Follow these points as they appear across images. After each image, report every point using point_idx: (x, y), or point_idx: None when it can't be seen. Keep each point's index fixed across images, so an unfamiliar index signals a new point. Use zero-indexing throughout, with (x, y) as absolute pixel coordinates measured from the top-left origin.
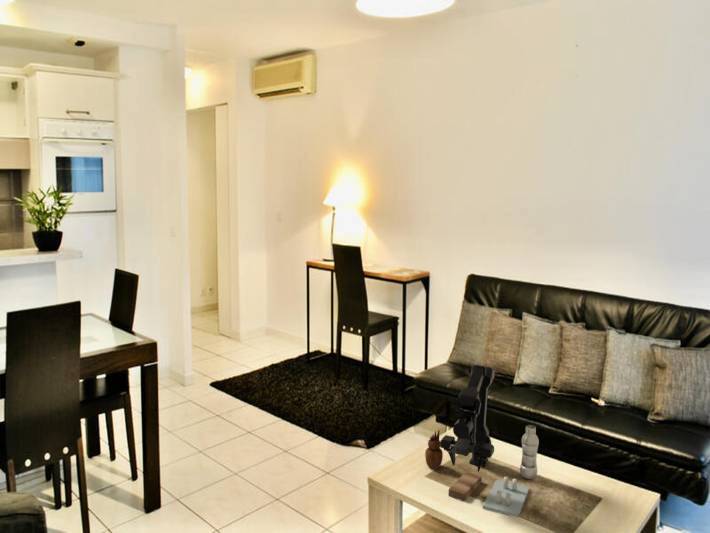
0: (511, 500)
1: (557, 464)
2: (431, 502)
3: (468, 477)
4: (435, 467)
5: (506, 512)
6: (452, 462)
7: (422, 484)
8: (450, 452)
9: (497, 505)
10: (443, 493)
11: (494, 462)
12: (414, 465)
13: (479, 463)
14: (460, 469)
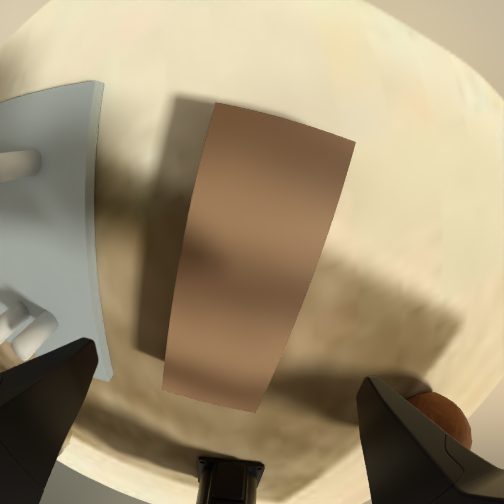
0: (2, 214)
1: None
2: (414, 48)
3: (231, 359)
4: (412, 399)
5: (10, 100)
6: (398, 397)
7: (479, 236)
8: (494, 486)
9: (34, 128)
10: (375, 165)
11: (177, 472)
12: (478, 376)
13: (10, 384)
14: (295, 429)
